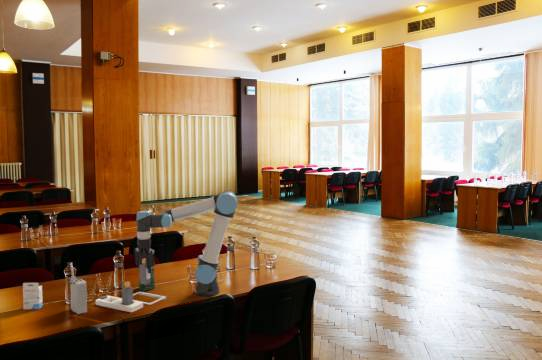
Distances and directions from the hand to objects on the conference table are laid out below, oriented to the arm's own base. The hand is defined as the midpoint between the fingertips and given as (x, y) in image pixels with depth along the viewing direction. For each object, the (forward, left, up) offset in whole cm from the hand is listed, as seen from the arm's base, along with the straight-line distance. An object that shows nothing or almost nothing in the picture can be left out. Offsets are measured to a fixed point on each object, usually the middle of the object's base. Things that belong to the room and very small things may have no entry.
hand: (145, 278), depth 268 cm
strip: (+4, +16, -13) cm, 21 cm away
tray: (0, 0, -13) cm, 13 cm away
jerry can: (+20, +30, -13) cm, 39 cm away
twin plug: (-2, +16, -12) cm, 20 cm away
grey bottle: (0, 0, -3) cm, 3 cm away
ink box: (+45, +38, -13) cm, 61 cm away
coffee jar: (+12, -16, -13) cm, 24 cm away
